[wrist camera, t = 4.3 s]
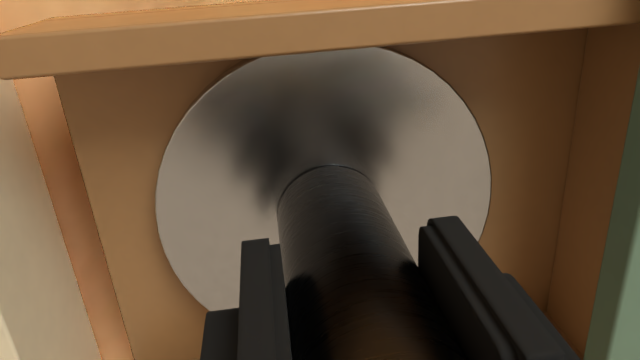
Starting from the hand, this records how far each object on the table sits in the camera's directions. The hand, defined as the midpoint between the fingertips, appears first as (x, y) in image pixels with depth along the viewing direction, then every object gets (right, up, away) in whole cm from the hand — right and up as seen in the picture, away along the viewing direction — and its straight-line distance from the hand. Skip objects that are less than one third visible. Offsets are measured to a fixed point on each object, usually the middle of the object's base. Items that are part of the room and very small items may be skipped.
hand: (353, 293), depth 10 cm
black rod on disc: (0, +2, +4) cm, 4 cm away
